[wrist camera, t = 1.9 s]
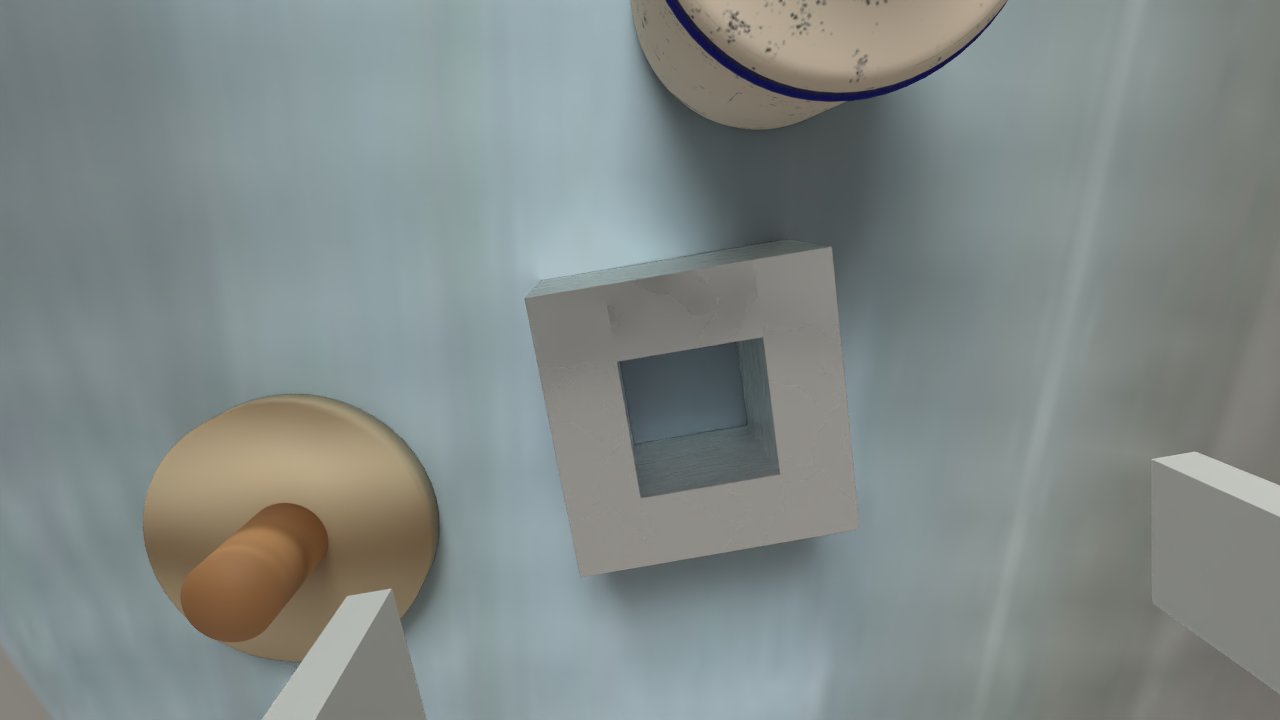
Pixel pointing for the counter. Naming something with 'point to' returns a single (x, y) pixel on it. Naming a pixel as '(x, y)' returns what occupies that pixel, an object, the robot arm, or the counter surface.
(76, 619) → the counter surface
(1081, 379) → the counter surface
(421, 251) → the counter surface
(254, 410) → the hub
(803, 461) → the white boxy piece
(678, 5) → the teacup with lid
